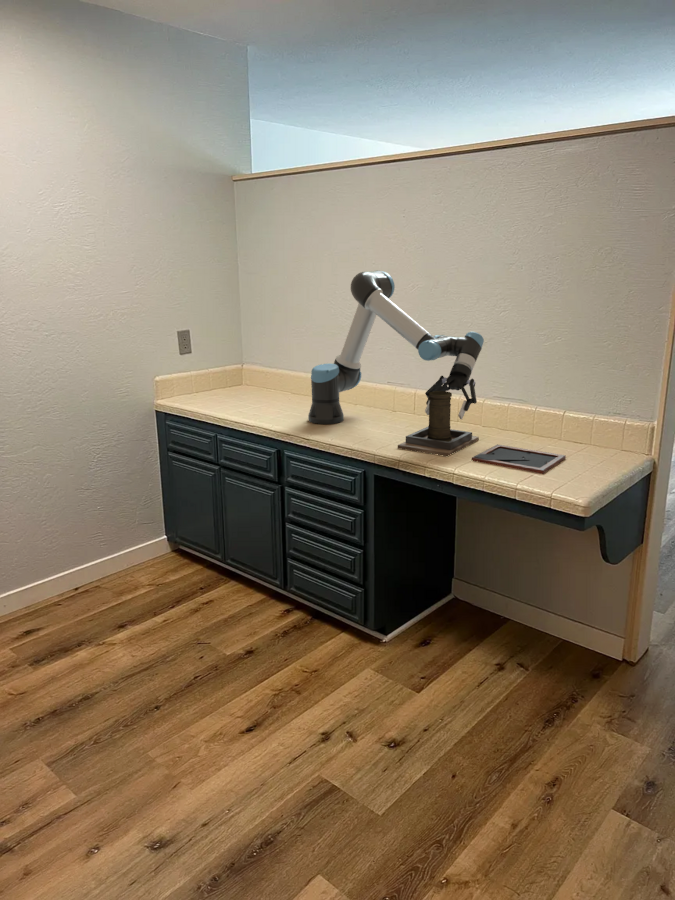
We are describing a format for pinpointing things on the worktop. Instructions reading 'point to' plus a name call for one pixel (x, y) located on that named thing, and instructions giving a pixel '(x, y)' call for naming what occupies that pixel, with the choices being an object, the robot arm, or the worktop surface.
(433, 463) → the worktop surface
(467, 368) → the robot arm
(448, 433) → the container
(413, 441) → the holder
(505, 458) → the picture frame
